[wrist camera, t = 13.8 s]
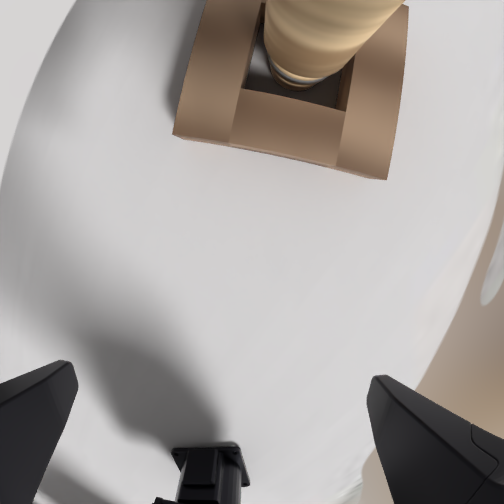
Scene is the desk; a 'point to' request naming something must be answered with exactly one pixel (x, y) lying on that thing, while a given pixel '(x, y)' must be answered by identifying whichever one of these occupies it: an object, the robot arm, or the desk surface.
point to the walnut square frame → (288, 109)
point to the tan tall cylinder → (318, 36)
